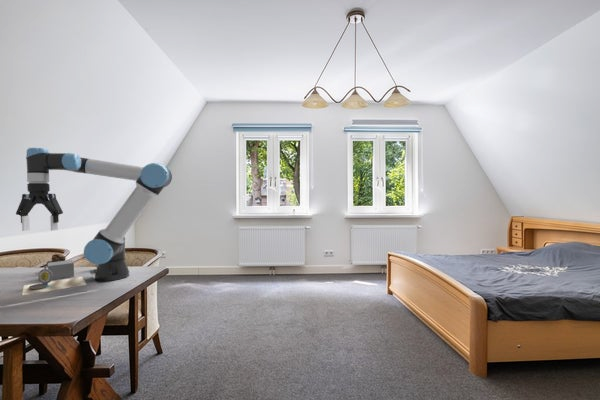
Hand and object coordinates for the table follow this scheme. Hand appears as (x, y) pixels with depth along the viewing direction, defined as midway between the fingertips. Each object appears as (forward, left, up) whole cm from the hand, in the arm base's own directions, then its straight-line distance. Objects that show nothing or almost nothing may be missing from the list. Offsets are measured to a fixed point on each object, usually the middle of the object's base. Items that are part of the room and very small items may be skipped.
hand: (40, 230), depth 137 cm
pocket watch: (0, 0, -26) cm, 26 cm away
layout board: (-3, -3, -27) cm, 27 cm away
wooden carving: (+22, -31, -27) cm, 46 cm away
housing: (+7, -18, -27) cm, 33 cm away
